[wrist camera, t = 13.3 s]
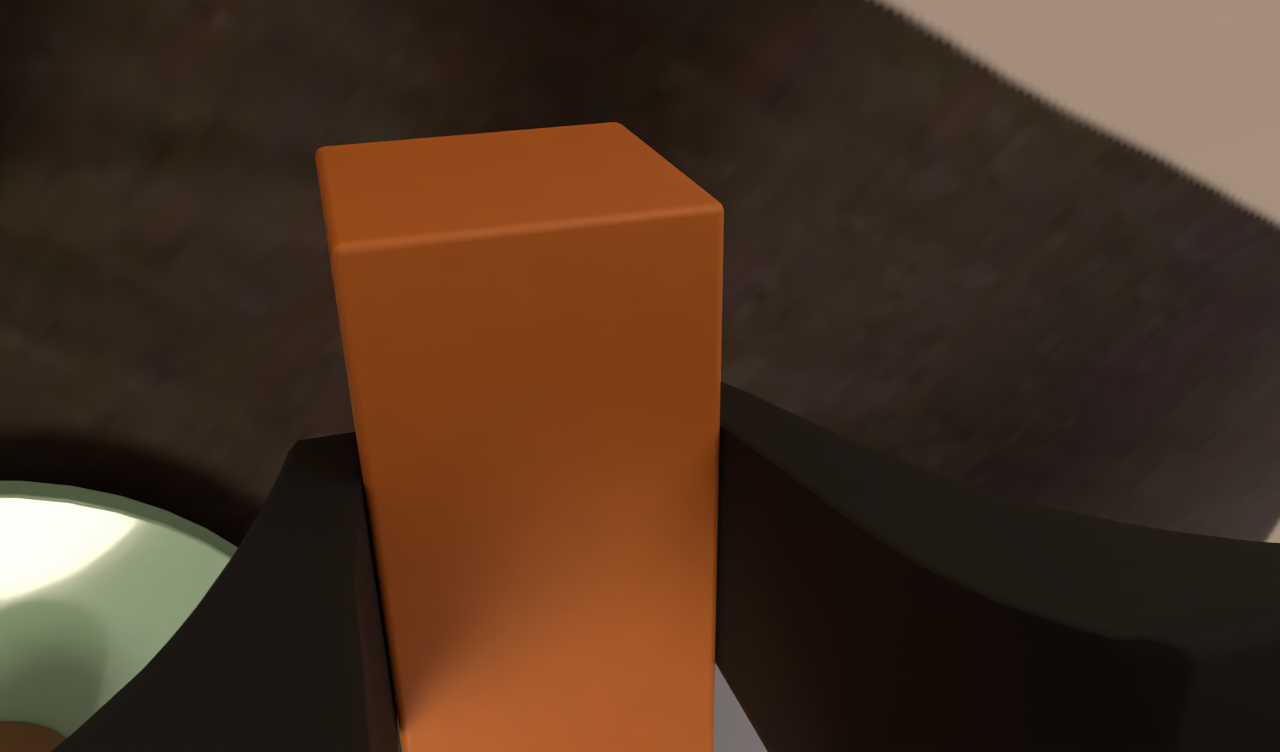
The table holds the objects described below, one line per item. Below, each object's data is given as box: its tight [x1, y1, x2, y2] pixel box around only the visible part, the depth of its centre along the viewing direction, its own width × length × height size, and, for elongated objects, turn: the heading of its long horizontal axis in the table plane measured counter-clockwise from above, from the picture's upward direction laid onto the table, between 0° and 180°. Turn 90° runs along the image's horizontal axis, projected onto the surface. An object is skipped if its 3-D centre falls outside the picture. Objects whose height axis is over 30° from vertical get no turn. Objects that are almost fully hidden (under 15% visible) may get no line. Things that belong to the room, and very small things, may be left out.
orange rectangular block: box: [315, 122, 724, 752], centre depth 12 cm, size 7×3×3 cm, turn 1°
